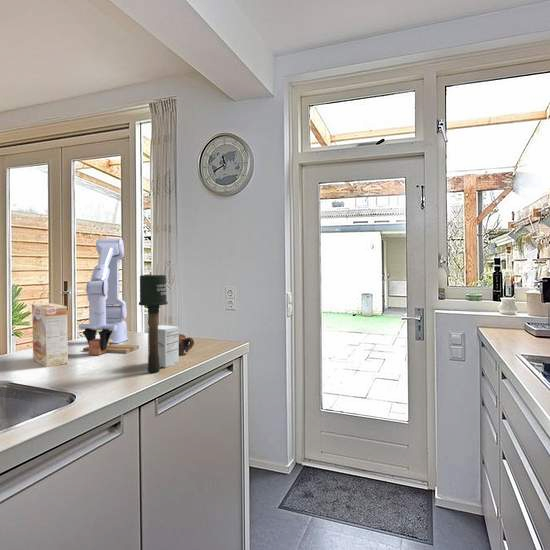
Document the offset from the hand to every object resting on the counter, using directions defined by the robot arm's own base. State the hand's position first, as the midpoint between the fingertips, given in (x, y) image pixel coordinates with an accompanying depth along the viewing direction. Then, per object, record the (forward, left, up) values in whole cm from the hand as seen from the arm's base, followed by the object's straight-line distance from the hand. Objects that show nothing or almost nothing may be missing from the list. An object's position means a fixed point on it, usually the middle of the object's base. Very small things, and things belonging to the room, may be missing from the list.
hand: (98, 349), depth 153 cm
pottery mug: (-7, +29, -2) cm, 30 cm away
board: (-8, +1, -2) cm, 8 cm away
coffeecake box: (+13, -9, -2) cm, 16 cm away
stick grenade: (+19, +32, -2) cm, 37 cm away
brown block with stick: (-3, 0, -1) cm, 3 cm away
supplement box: (+10, +31, -2) cm, 33 cm away
